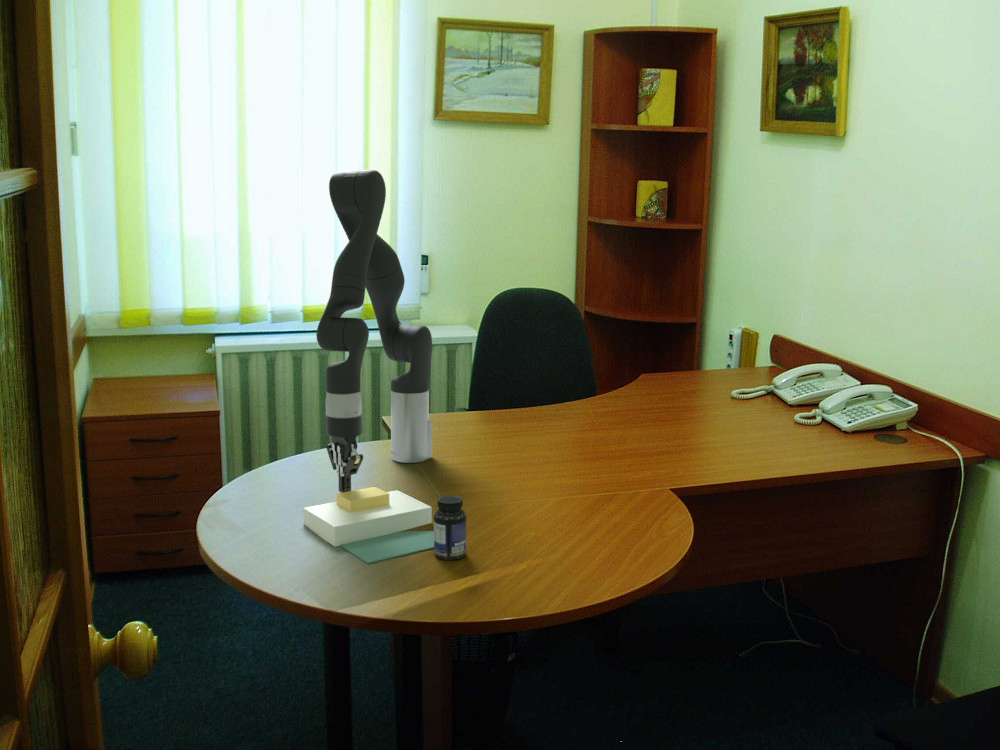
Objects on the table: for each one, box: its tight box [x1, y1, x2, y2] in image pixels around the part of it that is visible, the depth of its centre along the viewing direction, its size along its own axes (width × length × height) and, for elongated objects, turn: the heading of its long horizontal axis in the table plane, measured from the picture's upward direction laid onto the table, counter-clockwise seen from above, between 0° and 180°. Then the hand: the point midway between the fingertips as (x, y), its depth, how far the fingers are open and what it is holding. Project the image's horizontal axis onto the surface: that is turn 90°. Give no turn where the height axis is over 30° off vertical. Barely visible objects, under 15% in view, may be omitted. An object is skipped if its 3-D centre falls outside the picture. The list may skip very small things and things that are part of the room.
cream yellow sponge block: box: [336, 486, 390, 513], centre depth 197 cm, size 9×6×2 cm, turn 126°
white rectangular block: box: [303, 489, 433, 548], centre depth 196 cm, size 22×14×4 cm, turn 126°
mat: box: [339, 530, 434, 565], centre depth 186 cm, size 20×11×1 cm, turn 126°
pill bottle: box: [433, 495, 467, 561], centre depth 180 cm, size 6×6×11 cm
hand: (344, 491), depth 203 cm, fingers closed
